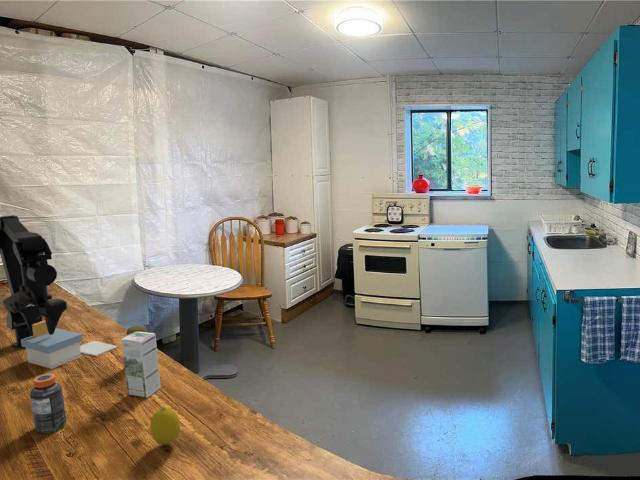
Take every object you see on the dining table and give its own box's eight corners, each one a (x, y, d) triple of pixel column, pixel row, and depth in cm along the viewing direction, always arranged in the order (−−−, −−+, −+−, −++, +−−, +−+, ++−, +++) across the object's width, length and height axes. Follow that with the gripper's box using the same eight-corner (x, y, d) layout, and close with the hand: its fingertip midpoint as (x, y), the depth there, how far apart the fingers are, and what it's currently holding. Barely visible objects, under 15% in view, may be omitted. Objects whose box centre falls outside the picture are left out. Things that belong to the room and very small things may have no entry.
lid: (21, 346, 140) (19, 327, 139) (56, 334, 149) (54, 316, 148) (48, 353, 134) (45, 334, 133) (82, 340, 143) (80, 322, 142)
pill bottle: (59, 416, 110) (53, 368, 108) (71, 424, 106) (65, 375, 104) (30, 428, 106) (23, 378, 104) (42, 437, 102) (35, 386, 100)
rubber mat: (72, 350, 148) (71, 349, 148) (94, 341, 155) (93, 340, 155) (96, 356, 143) (96, 355, 143) (117, 347, 150) (117, 346, 150)
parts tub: (27, 362, 141) (25, 342, 140) (57, 350, 149) (55, 331, 148) (51, 368, 136) (48, 348, 135) (81, 356, 143) (78, 337, 142)
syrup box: (161, 387, 122) (156, 331, 120) (146, 399, 117) (140, 340, 114) (142, 385, 124) (137, 329, 121) (126, 396, 118) (120, 338, 116)
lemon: (156, 438, 100) (152, 401, 99) (183, 435, 101) (180, 399, 99) (149, 454, 95) (145, 415, 93) (178, 451, 95) (175, 413, 94)
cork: (144, 369, 133) (140, 330, 131) (123, 368, 134) (119, 330, 132) (155, 360, 139) (152, 323, 137) (136, 359, 140) (132, 322, 138)
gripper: (-14, 283, 138) (-6, 336, 141) (25, 290, 129) (33, 347, 132) (25, 274, 148) (32, 324, 150) (65, 280, 139) (71, 333, 141)
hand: (41, 332), depth 143 cm, fingers open, 9 cm apart
